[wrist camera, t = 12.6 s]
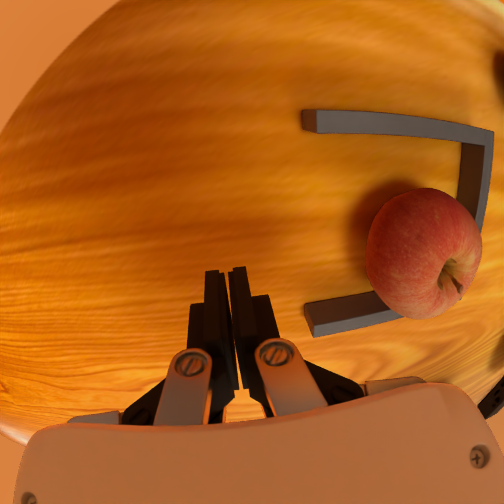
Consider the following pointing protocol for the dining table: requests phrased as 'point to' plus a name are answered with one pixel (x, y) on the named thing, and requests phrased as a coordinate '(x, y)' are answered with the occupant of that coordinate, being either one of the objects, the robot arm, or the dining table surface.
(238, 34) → the dining table surface
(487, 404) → the electronic device
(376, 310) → the bay
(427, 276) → the apple
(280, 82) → the dining table surface
